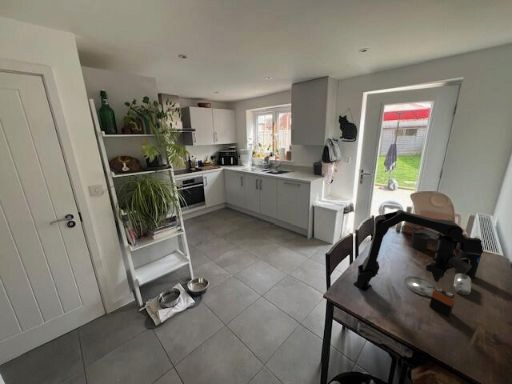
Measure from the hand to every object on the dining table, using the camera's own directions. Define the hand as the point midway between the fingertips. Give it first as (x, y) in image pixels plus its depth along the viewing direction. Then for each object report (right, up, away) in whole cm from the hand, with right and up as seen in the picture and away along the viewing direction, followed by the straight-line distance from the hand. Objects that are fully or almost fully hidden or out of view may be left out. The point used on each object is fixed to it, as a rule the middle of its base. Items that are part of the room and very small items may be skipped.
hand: (438, 279), depth 93 cm
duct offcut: (+21, -9, +11) cm, 26 cm away
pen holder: (+30, +1, +49) cm, 58 cm away
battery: (0, -13, -1) cm, 13 cm away
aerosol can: (+34, -6, +21) cm, 40 cm away
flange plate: (+2, -9, +13) cm, 16 cm away
